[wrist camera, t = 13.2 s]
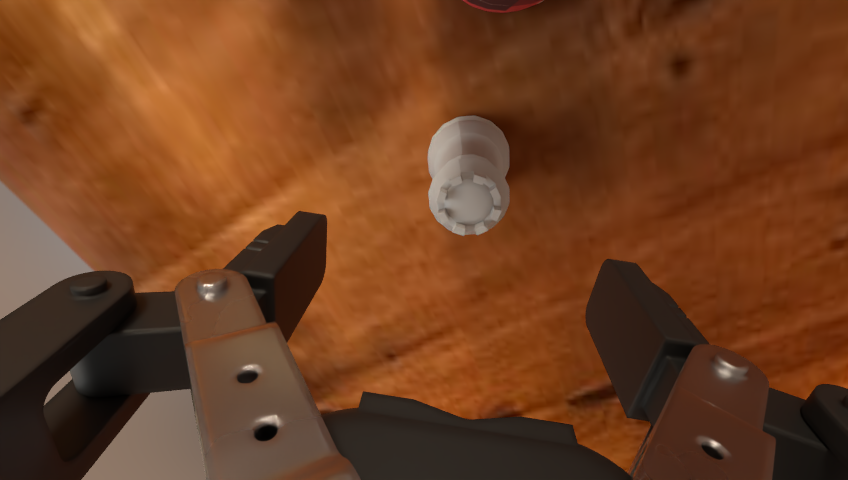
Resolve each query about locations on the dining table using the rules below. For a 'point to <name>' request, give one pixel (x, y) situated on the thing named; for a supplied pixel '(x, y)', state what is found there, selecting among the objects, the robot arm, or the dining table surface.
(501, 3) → the canned food
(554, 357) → the dining table surface
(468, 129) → the rook chess piece
